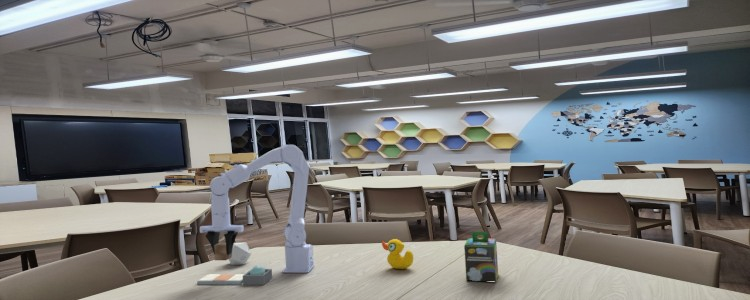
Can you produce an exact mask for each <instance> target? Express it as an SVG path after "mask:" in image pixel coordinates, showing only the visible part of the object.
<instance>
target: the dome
mask: <svg viewBox="0 0 750 300" xmlns="http://www.w3.org/2000/svg"><path fill="white" fill-rule="evenodd" d="M265 269H266V268H265V267H262V266H261V265H255V266H253V267H252V269H249V271H250V275H263V274H264V273H265Z"/></svg>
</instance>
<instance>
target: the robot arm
mask: <svg viewBox="0 0 750 300" xmlns="http://www.w3.org/2000/svg"><path fill="white" fill-rule="evenodd" d="M281 162H283V163H284V164H286V165H288V166H289V168H291V170H292V171H293V172H294V175H293V182H292V183H293V184H292V193H291V201H290V209H289V216H288V219H287V222H286V223H287V224H286V226H285V227H284V229H283V236H284V238H285V240H286V241H285V243H284V252H285V253H284V254H285V255H284V256H285V258H284V259H285V268H284V269H283V270H281V272H282V273H286V274H287V273H296V274H297V273H302V274H303V273H309V272H310V271H311V270H312V269H313V268H314V267H315V263H314V249H313V247H314V246H313V245H312V244H310V243H309V244H307V243H306V239H307V232H306V230H305V228H306V227H305V224H306V222H305V219H304V218H305V209H306V200H307V194H308V193H307V191H308V183H309V174H310V165H309V164H308V162H307V160H306V158H305V155H304V152H303V151H302V150H301V148H299V147H298V146H296V145H295V144H283V145H281V146H279V147H277V148H273V149H272V150H270V151H268V152H266V153H264V154H263V155H260V156H259V157H258V158H256V159H254V160H253V161H251V162H249V163H247V164H243V163H240V164H234V165H232V166H233V167H232V168H231V169H229V170H227V171H225V172H220V176H216V177H214V178H211V181H210V183H209V189H210V191H211V193H210V198H211V200H210V210H211V211H210V212H211V225H201V226H199V233H200V234H205V233H206V234H205V238H206V240H207V241H208V243H209V245H210V246H211V249H212V252H213V255H214V256H215V252H214V245H216V244H218V243H220V241H219V240H220V233H224V234H223V236H224V240H225V242H226V250H227V255H229V254H231V253H232V248H233V244H234V243H235V241H236V238H237V236H238V234H239V233H243V232H244V231H245V229H244V228H245V227H244V225H243V224H242V225H238V224H231V208H230V198H229V191H230V189H233V188H235V187H237V186H239V185H240V184H243V183H244V182H245V181H248V180H249V179H250V177H251V174H252V173H254V172H256V171H258V170H260V169H262V168H263V167H265V166H267V165H270V164H271V163H281Z"/></svg>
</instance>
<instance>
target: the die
mask: <svg viewBox="0 0 750 300" xmlns="http://www.w3.org/2000/svg"><path fill="white" fill-rule="evenodd" d="M251 255H252V252H251V249H250V248H249V245H248V243H247V242H246V241H245V242H244V241H243V242H234V244H233V248H232V257H231V258H230V259H228V261H229V263H230V265H231V266H238V265H239V266H240V265H246V264H247V262H248V260H249V259H250V257H251Z"/></svg>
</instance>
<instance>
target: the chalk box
mask: <svg viewBox="0 0 750 300" xmlns="http://www.w3.org/2000/svg"><path fill="white" fill-rule="evenodd" d="M471 233H472V234H471V235H472V237H470V238H468V239H466V241H465V243H464V246H463V247H464V263H465V279H466V280H472V281H471V282H477V281H496V280H498V277H497V276H499V267H498V266H499V265H498V249H497V239H496V238H494V237H493V238H492V237H489V233H488V231H478V230H477V231H474V230H473V231H472V232H471ZM478 236H483V237H481V238H480V237H478ZM496 282H497V281H496Z"/></svg>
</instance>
